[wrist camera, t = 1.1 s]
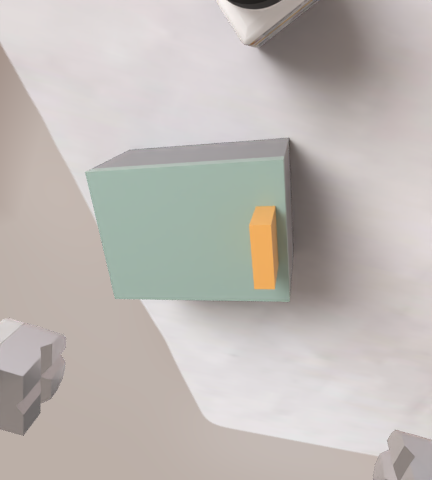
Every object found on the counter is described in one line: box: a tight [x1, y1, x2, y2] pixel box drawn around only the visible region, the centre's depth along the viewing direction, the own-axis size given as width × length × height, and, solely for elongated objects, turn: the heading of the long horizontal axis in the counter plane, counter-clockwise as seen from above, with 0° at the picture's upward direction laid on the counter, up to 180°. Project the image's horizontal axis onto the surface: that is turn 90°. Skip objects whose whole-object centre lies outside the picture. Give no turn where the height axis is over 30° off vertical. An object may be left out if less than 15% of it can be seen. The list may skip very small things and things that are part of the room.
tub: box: [93, 138, 293, 292], centre depth 38 cm, size 16×12×8 cm
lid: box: [85, 156, 290, 302], centre depth 33 cm, size 16×12×6 cm
